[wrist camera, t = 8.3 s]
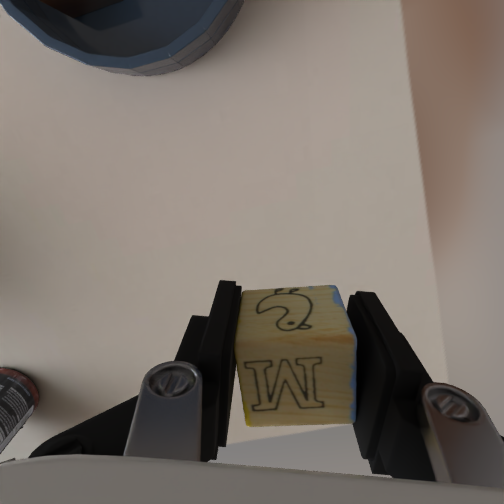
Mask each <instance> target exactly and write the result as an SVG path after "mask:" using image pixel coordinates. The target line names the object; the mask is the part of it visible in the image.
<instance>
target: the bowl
mask: <svg viewBox="0 0 504 504" xmlns="http://www.w3.org/2000/svg"><path fill="white" fill-rule="evenodd" d="M243 3H244V0H123V1H121V2H118V3H115V4H112V5H110V6H107V7H104V8H101V9H98V10H95V11H93V12H90V13H87V14H84V15H81V16H79V17H76V18H72V17H70V16H68V15H66V14H64V13H62V12H60V11H58V10H56V9H54V8H53V7H51V6H49V5H47V4H45V3H43V2H41V1H39V0H0V4H1V5H2V7H3V8H4V10H5V11H6V12H7V14H8V15H9V16H11V17H12V18H13V19H14V20H15V21H16V22H18V23H19V24H20V25H21V26H22V27H23V28H25V29H26V30H27V31H28V32H29V33H30V34H32V35H33V36H34V37H35V38H36V39H38V40H39V41H40V42H41V43H42V44H43V45H45V46H46V47H48V48H50V49H52V50H55V51H57V52H59V53H61V54H63V55H66V56H68V57H70V58H72V59H75V60H77V61H79V62H81V63H84V64H86V65H89V66H92V67H95V68H98V69H102V70H105V71H108V72H111V73H117V74H126V75H132V76H153V75H161V74H166V73H169V72H173V71H176V70H179V69H181V68H183V67H185V66H187V65H189V64H191V63H193V62H194V61H196V60H198V59H199V58H201V57H202V56H204V55H205V54H206V53H207V52H208V51H209V50H210V49H212V48H213V47H214V46H215V45H216V44H217V43H218V42H219V40H220V39H221V38H222V37H223V36H224V35H225V33H226V32H227V31H228V29H229V28H230V26H231V25H232V23H233V22H234V20H235V19H236V17H237V15H238V13H239V11H240V9H241V7H242V5H243Z"/></svg>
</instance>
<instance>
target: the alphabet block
mask: <svg viewBox="0 0 504 504" xmlns="http://www.w3.org/2000/svg"><path fill="white" fill-rule="evenodd" d="M356 350H357V338H356V335H355V332H354V330H353V328H352V325H351V322H350V320H349V318H348V315H347V312H346V309H345V307H344V304H343V301H342V299H341V296H340V294H339V291H338V288H337V287H336V286H335V285H324V286H309V287H293V288H278V289H262V290H246V291H243V292H242V296H241V301H240V307H239V315H238V320H237V326H236V333H235V339H234V354H235V359H236V364H237V372H238V377H239V383H240V390H241V395H242V402H243V410H244V414H245V421H246V425H247V426H249V427H264V426H289V425H318V424H322V425H324V424H352V423H354V422H355V421H356V386H357V382H356V370H357V362H356Z"/></svg>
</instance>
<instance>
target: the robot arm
mask: <svg viewBox="0 0 504 504" xmlns="http://www.w3.org/2000/svg"><path fill="white" fill-rule="evenodd" d="M241 289H242V286H236V281H225V280H220V281H219V284H218V288H217V291H216V294H215V298H214V301H213V304H212V308H211V311H210V314H209V317H207V316H195V315H193V316H192V317H191V319H190V321H189V324H188V327H187V329H186V332H185V334H184V337H183V339H182V342H181V345H180V347H179V350H178V352H177V355H176V357H175V360H174V361H169V362H165V363H162V364H159V365H157V366H155V367H153V368H152V369H150V370H149V371H148V372H147V373H146V375H145V377H144V379H143V381H142V385H141V389H140V393H139V395H137V396H135V397H133V398H131V399H129V400H127V401H125V402H123V403H121V404H119V405H117V406H115V407H113V408H111V409H109V410H107V411H105V412H103V413H100V414H98V415H96V416H94V417H92V418H90V419H88V420H86V421H84V422H82V423H80V424H78V425H76V426H74V427H72V428H70V429H68V430H66V431H64V432H62V433H60V434H58V435H56V436H54V437H52V438H50V439H49V440H47V441H45V442H44V443H42V444H41V445H40V446H39V447H38V448H36V449H35V450H34V451H33V452H32V453H31V455H30V456H29V458H27V459H20V460H15V458H13V459H10V460H7V461H4V462H1V463H0V504H504V437H503V436H501V435H499V433H498V431H497V430H496V427H495V426H494V424H493V422H492V421H491V418H490V417H489V415H488V413H487V412H486V410H485V408H484V407H483V406H482V404H481V403H480V402H479V401H478V400H477V399H476V398H474V397H473V396H472V395H470V394H469V393H467V392H466V391H464V390H462V389H460V388H457V387H455V386H453V385H449V384H445V383H437V382H433V381H432V379H431V378H430V376H429V374H428V373H427V371H426V370H425V368H424V367H423V365H422V363H421V362H420V360H419V359H418V357H417V356H416V354H415V352H414V351H413V349H412V348H411V346H410V344H409V343H408V341H407V340H406V338H405V337H404V335H403V334H402V333H400V332H399V331H398V329H397V327H396V326H395V324H394V323H393V321H392V319H391V318H390V316H389V315H388V313H387V311H386V310H385V308H384V307H383V305H382V303H381V302H380V300H379V299H378V297H377V295H376V294H375V293H374V292H363V291H357V292H356V293H355V295H350V297H349V301H348V307H347V315H348V318H349V320H350V322H351V325H352V328H353V330H354V332H355V335H356V338H357V350H356V362H357V370H356V382H357V386H356V421H355V422H354V423H352V424H353V427H354V431H355V435H356V438H357V442H358V445H359V449H360V452H361V456H362V458H363V459H368V461H369V464H370V467H371V471H372V474H383V475H390V476H392V477H393V478H386V477H374V476H364V475H352V474H341V473H329V472H318V471H306V470H295V469H283V468H271V467H258V466H246V465H234V464H222V463H210V462H208V461H209V460H216V459H217V452H218V446H219V447H226V441H227V433H228V426H229V418H230V410H231V402H232V394H233V387H234V379H235V371H236V359H235V354H234V339H235V333H236V326H237V320H238V315H239V307H240V301H241Z"/></svg>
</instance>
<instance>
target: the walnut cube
mask: <svg viewBox="0 0 504 504" xmlns="http://www.w3.org/2000/svg"><path fill="white" fill-rule="evenodd" d="M39 1H41V2H43V3H45V4H47V5H49V6H51V7H53V8H54V9H56V10H58V11H60V12H62V13H64V14H66V15H68V16H70V17H72V18H76V17H79V16H81V15H84V14H87V13H90V12H93V11H95V10H98V9H101V8H104V7H107V6H110V5H112V4H115V3H118V2H121V1H123V0H39Z"/></svg>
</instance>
